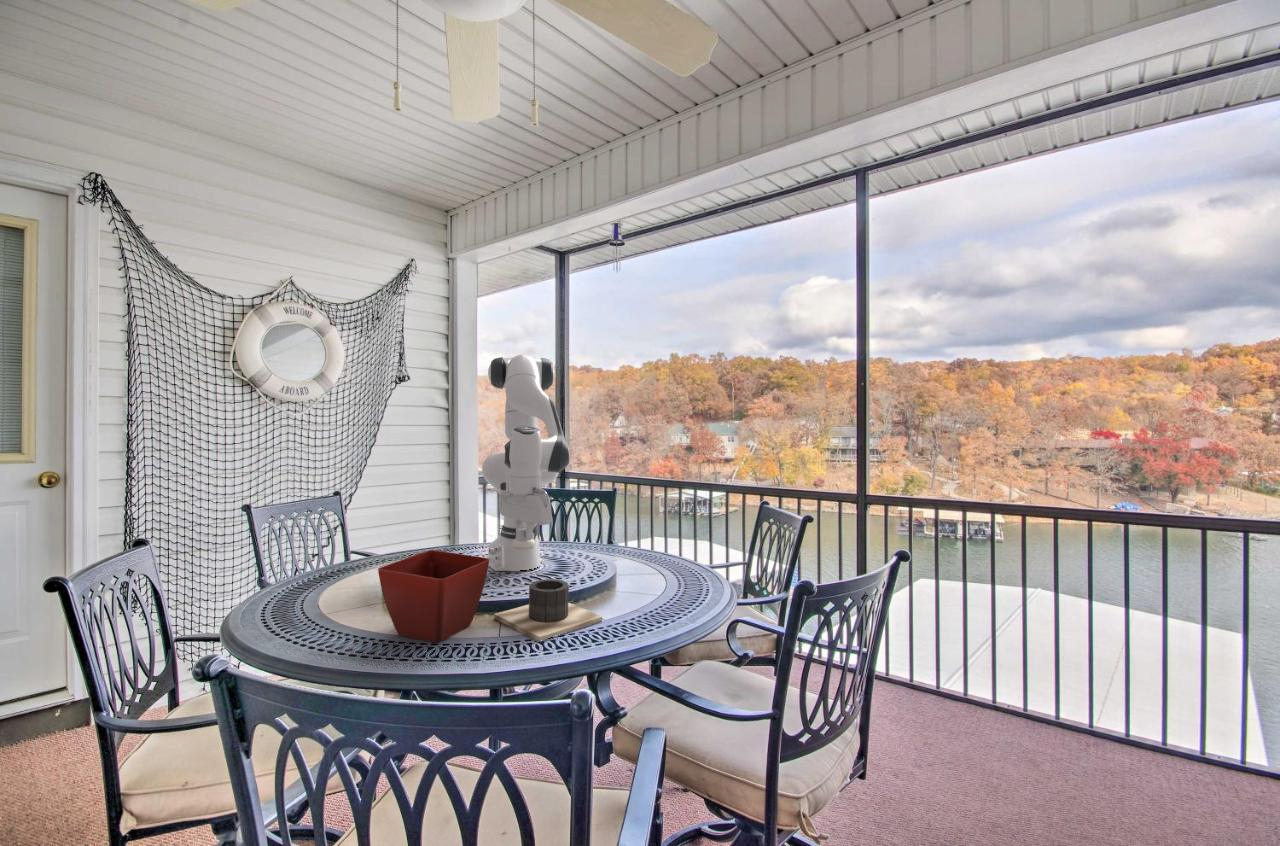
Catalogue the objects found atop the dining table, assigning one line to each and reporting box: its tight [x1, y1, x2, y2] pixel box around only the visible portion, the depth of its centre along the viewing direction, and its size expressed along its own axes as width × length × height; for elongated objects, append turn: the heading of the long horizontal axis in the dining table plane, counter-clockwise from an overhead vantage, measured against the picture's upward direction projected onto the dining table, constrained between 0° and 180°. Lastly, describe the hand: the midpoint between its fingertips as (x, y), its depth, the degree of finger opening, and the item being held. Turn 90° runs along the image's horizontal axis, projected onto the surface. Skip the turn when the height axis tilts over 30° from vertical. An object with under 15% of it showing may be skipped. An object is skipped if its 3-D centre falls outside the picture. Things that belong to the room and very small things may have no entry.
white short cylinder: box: [513, 528, 534, 550], centre depth 160 cm, size 6×6×5 cm
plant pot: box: [377, 549, 489, 644], centre depth 144 cm, size 19×19×17 cm
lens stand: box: [493, 578, 603, 642], centre depth 153 cm, size 20×20×9 cm
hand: (524, 536), depth 160 cm, fingers closed on white short cylinder
